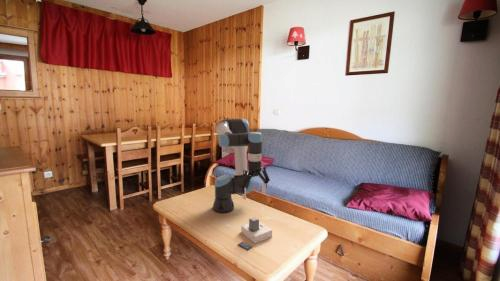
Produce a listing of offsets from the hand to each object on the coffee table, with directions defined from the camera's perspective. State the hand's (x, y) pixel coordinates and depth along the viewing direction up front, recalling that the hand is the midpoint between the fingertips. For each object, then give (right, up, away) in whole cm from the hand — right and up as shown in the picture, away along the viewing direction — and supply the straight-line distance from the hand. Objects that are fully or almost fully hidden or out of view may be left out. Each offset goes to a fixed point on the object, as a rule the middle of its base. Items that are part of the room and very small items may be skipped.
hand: (254, 196), depth 139 cm
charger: (0, -23, +2) cm, 23 cm away
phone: (-5, -26, -8) cm, 27 cm away
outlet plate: (+1, -23, +3) cm, 23 cm away
